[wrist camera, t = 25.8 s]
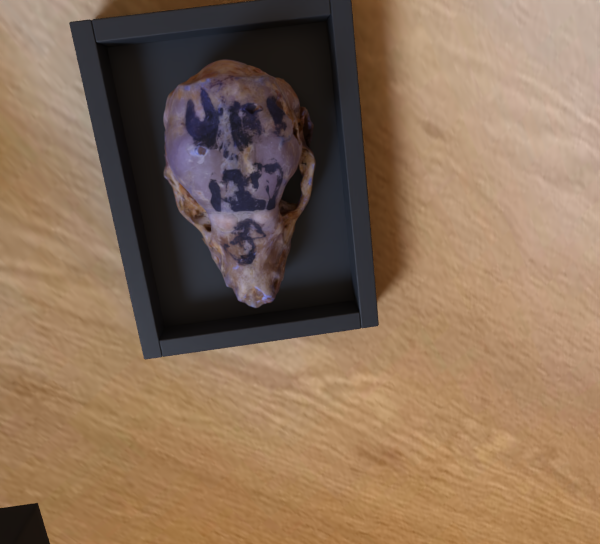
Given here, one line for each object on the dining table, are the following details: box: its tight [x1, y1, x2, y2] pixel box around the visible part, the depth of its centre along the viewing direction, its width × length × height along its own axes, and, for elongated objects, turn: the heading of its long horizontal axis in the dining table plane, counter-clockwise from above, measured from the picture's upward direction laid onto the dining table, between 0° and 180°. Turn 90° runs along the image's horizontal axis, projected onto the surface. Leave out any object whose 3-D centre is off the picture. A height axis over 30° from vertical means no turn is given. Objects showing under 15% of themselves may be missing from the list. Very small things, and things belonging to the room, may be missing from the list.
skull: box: [163, 59, 316, 308], centre depth 27 cm, size 12×8×6 cm, turn 177°
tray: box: [69, 0, 379, 359], centre depth 29 cm, size 13×17×3 cm
